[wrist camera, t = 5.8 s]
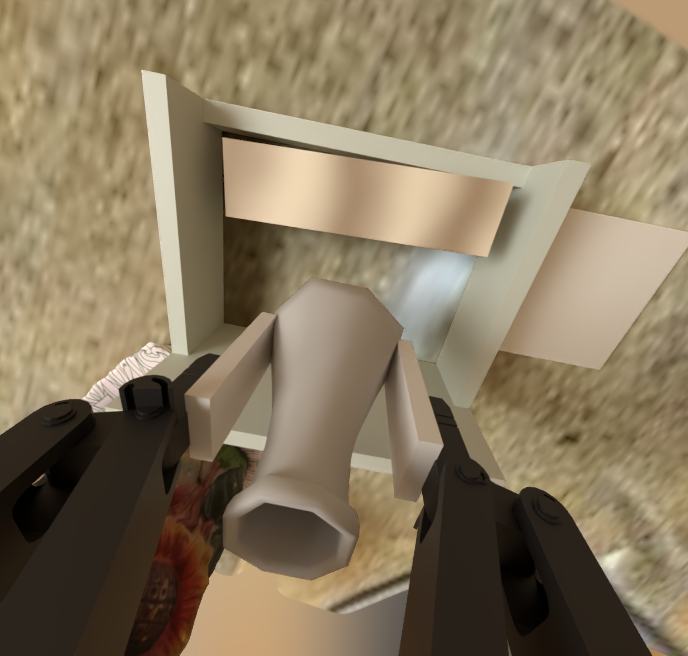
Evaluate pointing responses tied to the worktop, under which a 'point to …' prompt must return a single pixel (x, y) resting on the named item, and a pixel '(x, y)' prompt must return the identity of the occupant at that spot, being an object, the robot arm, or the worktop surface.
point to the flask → (313, 431)
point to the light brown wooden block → (362, 197)
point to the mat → (592, 287)
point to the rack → (214, 117)
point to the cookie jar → (179, 525)
